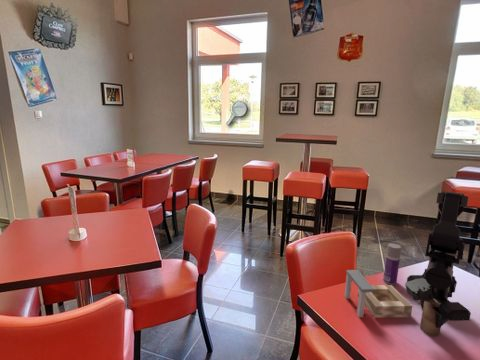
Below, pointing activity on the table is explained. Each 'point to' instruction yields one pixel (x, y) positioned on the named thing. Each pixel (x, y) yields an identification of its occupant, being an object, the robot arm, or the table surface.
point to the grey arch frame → (361, 284)
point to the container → (392, 264)
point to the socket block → (387, 302)
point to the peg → (429, 318)
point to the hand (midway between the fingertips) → (431, 321)
